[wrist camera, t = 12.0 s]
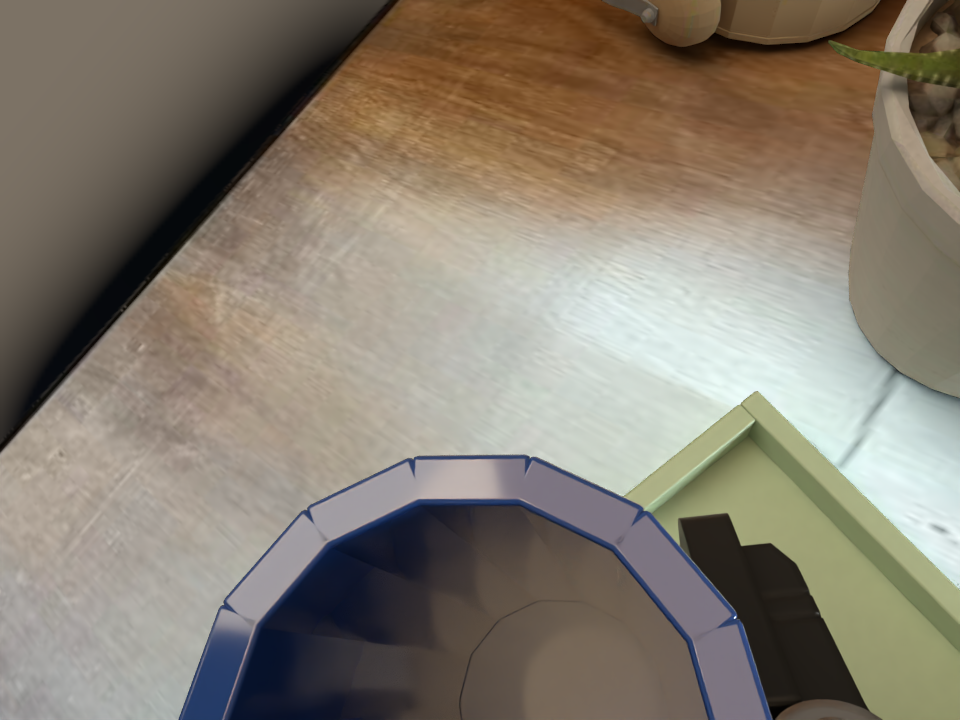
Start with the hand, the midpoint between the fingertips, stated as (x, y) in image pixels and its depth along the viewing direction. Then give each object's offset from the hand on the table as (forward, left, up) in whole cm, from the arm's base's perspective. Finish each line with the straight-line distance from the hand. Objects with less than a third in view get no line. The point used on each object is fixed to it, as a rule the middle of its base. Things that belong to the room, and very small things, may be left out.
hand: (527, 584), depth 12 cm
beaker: (-1, -2, -4) cm, 5 cm away
